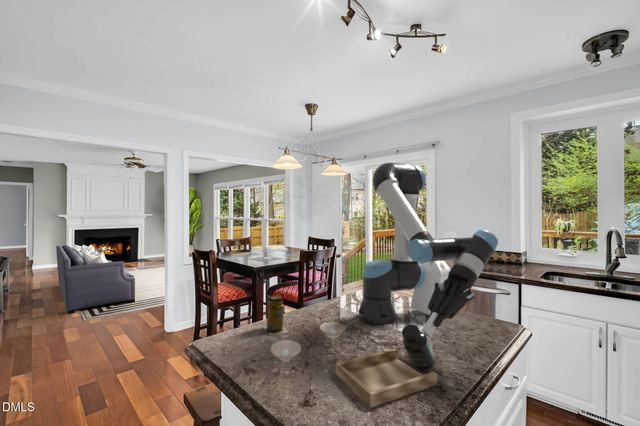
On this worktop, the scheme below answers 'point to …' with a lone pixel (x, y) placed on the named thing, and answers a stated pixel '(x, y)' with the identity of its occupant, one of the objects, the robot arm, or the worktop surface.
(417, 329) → the supplement bottle
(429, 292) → the milk
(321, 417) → the worktop surface
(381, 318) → the robot arm
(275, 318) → the condiment
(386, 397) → the tray
